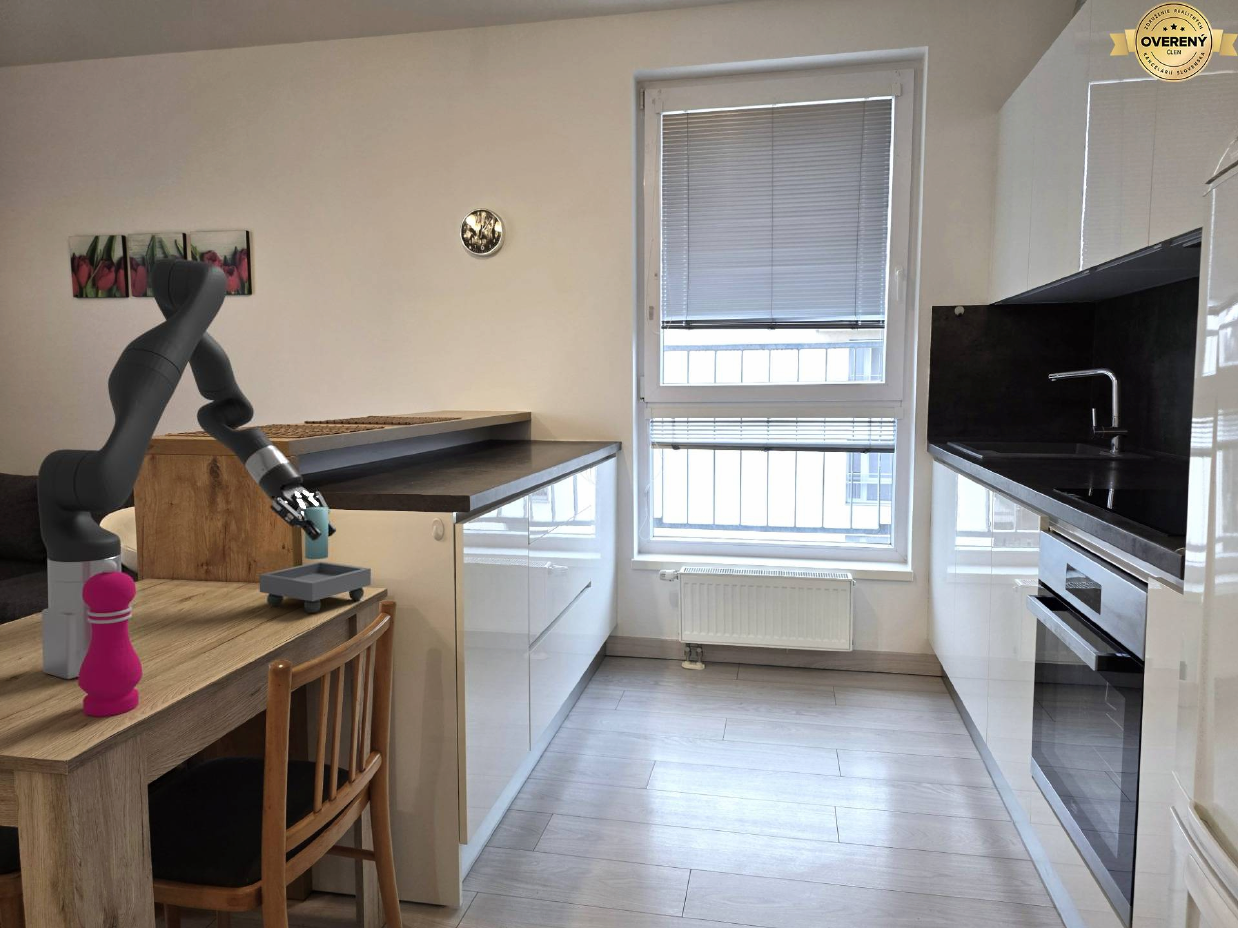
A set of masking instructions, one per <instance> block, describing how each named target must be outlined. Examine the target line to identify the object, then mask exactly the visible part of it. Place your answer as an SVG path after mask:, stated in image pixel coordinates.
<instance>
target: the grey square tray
mask: <svg viewBox="0 0 1238 928" xmlns="http://www.w3.org/2000/svg"><path fill="white" fill-rule="evenodd" d="M371 572H372V568H368V567H363V566H362V567H361V566H354V565H349V564H348V565H347V564H341V563H334V562H328V561H321V560H320V561H315V562H312V563H307V564H303V565H297V566H291V567H289V568H284V569H279V570H275V571H271V572H265V573H262V574H259V593H263V594H267V597H266V602H267V603H268V605H270V606H271V607H278V606H280V605H281V604H282V603H283V600H284V597H285V598H292V599H297V600H303V601H305V602H304V605H303V606H304V607H303V608H304V610H305V611H306V612H307V613H309V614H315V613H317V612H319V610H320V609H321V605H322V604H321V601H320V600H322V599H325V598H329V597H333V596H337V595H340V594H343V593H344V594H345V593H348V596H349V597H350V599H351V600H354V601H358V600H361V599H362V598H363V597H364V594H365V590H364V588H365V587H369V586H371V585H372V584H371V582H372V579H371V575H372V573H371Z"/></svg>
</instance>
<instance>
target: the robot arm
mask: <svg viewBox="0 0 1238 928" xmlns="http://www.w3.org/2000/svg"><path fill="white" fill-rule="evenodd" d="M150 288H151V291H152V296H153V298H154V301H155V303H156V304H157V307H158V309H159V311H160V313H161V314H162V315H163V318H164V319H165V321H163V322H162V323H160V324H159V323H158V325H156V326H153V328H152V327H151V329H149V330H147V331H145V332H144V333H142V334H140V335H139V336H137V337H136V338H135V339H133V340H131V341H130V342H129V343H128V344H127V346H126V347H125V348H124V349H123V351H122V352H121V354H120V355H119V357H118V359H117V361H116V362H115V364H114V367H113V368H112V370H111V371H110V374H109V377H108V381H107V390H108V395H109V400H110V403H111V407H112V410H113V415H114V425H113V428H112V430H111V433H110V435H109V437H108V438H107V440H106V441H105V444H104V445H103V446H102V447H101V448H100V449H99V450H93V449H91V450H90V449H57V450H54V451H52V452H50V453H49V454H47V455H46V456H45V458H44V459H43V460H42V463H40V466H39V470H38V474H37V481H36V485H37V486H36V491H37V505H38V513H39V514H38V515H39V525H40V527H39V528H40V535H41V539H42V542H43V544H44V546H45V548H46V554H47V555H46V556H47V557H46V558H47V560H46V561H47V598H48V600H47V601H48V602H47V603H48V607H47V608H44V609H42V611H41V632H42V633H41V635H42V638H41V640H42V673H44V674H48V675H52V676H55V677H59V678H62V679H66V680H70V679H75V678H79V671H80V668H81V665H82V663H83V660H84V658H85V656H86V654H87V651H88V649H89V647H90V643H91V637H92V627H91V623H90V622H88V621H87V618H88V614H87V611H88V610H89V609H90V607H89V606H88V605H87V604H86V603H85V602H84V600H83V598H82V591H83V586H84V584H85V583H86V581H87V580H88V579H89V578H90V577H92V576H94V575H96V574H98V573H102V572H103V571H102V570H101V565H102V563H103V562H105V561H107V560H112V561H114V562H115V563H116V564H117V569H116V570H115V571H117V572H122V542H121V541H122V540H121V538H120V536H119V535H117V534H116V533H114V532H112V531H110V530H108V529H105V528H104V527H102V526H100V525H99V524H98V523H97V522H96V521H95V520H94V519H93V517H92V515H91V513H109V512H114V511H116V510H119V508H121V507H122V506H123V505H124V504H125V503H126V501H128V498H129V497H130V496H131V494H132V491H133V490H134V488H135V485H136V483H137V480H138V477H139V474H140V471H141V468H142V466H143V462H144V459H145V457H146V453H147V450H148V448H149V445H150V443H151V440H152V438H153V436H154V433H155V431H156V429H157V426H158V424H159V422H160V420H161V418H162V416H163V414H164V412H165V410H166V407H167V405H168V404H169V403H170V400H171V398H172V397H173V396H174V393H175V391H176V389H177V387H178V385H179V383H180V381H181V379H182V376H183V374H184V372H185V369H186V367H187V365H188V363H189V367H190V369H191V373H192V375H193V378H194V381H195V384H196V387H197V390H198V392H199V394H200V395H201V396H202V397H203V398H204V399H206V400H208V401H210V402H207V403H206V404H204V405H202V406H201V407H199V408H198V410H197V413H196V420H197V423H198V425H199V427H201V429H202V430H203V431H204V433H206V434H208V435H209V437H211V438H213V439H214V440H216V441H218V442H219V443H220V444H222V445H224V447H226V448H228V449H229V450H230V451H231V452H232V453H234V455H235V456H236V457H237V459H238V460H239V461H240V462H241V463H242V464H243V466H245V468H246V470H247V472H248V473H249V474H250V475H249V476H251V477H252V479H253V480H254V481H255V483H256V484H257V485H258V487H260V489H261V490H262V492H264V493H265V495H266V496H267V498H269V500H270V501H272V502H273V503H272V504H270V505H269V508H270V509H271V510H272V512H273V513H276V514H277V516H279V517H280V519H282V520H283V521H284V522H286V523H287V525H289V526H290V527H292V528H293V527H295V526H297V527H298V528H301V529H302V530H303V531H304V534H305V533H306V534H307V535H308V536H309V537H310V538H311V539H312V540H313V541H314V540H317V539H318V538H319V537H320V536H321V532H320V531H319V529H318V528H317V527H316V526H315V525H314V523H313V522H312V521H311V520H309V517H308V515H307V513H306V508H309V507H326V508H328V515H330V513H331V510H330V508H329V506H328V505H327V503H326V501H325V499H324V497H323V496H322V494H321V492H320V491H315V492H314V493H310V491H308V490H307V489H306V488H305V487H304V486H303V482H304V479H303V476H302V475H301V474H300V472H298V470H297V469H296V468H295V466H293V464H292V463H291V462H290V461H289V460H288V458H287V457H286V456H285V455H284V453H282V452H281V451H280V450H279V449H278V448H277V447H276V446H275V444H274V443H273V442H272V441H271V440H270V439H269V437H268V436H267V434H266V433H265V432H264V431H263V429H260V428H258V427H250V428H245V429H239V428H240V427H243V426H244V425H246V424H249V423H250V422H251V421H252V419H253V417H254V412H255V409H254V408H253V404H252V403H251V402H250V401H249V399H248V398H247V397H246V396H245V394H244V392H243V391H242V390H241V388H240V387H239V384H238V383H237V380H236V378H235V375H234V371H233V368H232V367H233V366H232V363H231V360H230V357H229V356H228V354H227V353H226V351H225V349H223V347H222V346H221V344H220V343H219V342H217V340H216V339H214V337H213V336H211V334H210V333H208V331H207V330H208V329H209V327H210V325H211V324H212V322H213V321H214V320H215V318H216V316H217V315H218V313H219V312H220V309H221V308H222V306H223V304H224V301H225V298H226V295H227V291H228V290H227V288H228V279H227V276H226V274H225V272H224V270H223V269H222V268H221V267H220V266H218V265H217V264H213V263H210V262H206V261H197V260H189V259H182V258H175V257H165V258H161V259H159V260H157V262H155V264H154V266H153V268H152V269H151V274H150ZM308 520H309V521H308ZM336 532H337V529H336V527H335V526H334V525H333V523H332V522H331V521H330V520H329V519H328V538H329V537H332V536H333V535H334V534H336Z"/></svg>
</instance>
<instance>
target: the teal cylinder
mask: <svg viewBox="0 0 1238 928" xmlns="http://www.w3.org/2000/svg"><path fill="white" fill-rule="evenodd" d="M328 508H329V507H328ZM328 508H326V507H312V506H311V507H309V508H306V513H307V515H308V517H309V520H311V521H312V522H313V523H314V525H315V526H316V527H317V528H318V529H319V531H320V532H321V536H320V537H319V538H318V539H317V540H314V541H313V540H312V539H311V538H310V537H309V536H308V535H307V534H306V533H305V532H304V558H305V559H307V560H323V559H327V558H328V557H329V537H328V520H329V514H328ZM309 520H308V521H309Z"/></svg>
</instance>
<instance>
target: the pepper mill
mask: <svg viewBox="0 0 1238 928" xmlns="http://www.w3.org/2000/svg"><path fill="white" fill-rule="evenodd" d="M116 569H117V564H116V563H115V562H114V561H112V560H107V561H105V562H103V563H102V565H101V570H102V571H103V572H102V573H98V574H96V575H94V576H92V577H90V578H89V579H88V580H87V581H86V583H85V584H84V586H83V591H82V598H83V600H84V602H85V603H86V604H87V605H88V606H89V607H90V609H89V610H88V611H87V614H88V618H87V621H88V622H90V623H91V627H92V637H91V643H90V647H89V649H88V651H87V654H86V656H85V658H84V660H83V663H82V665H81V668H80V671H79V677H77V678H78V679H77V680H78V681H77V683H78V686H79V688H80V689H81V690H82V691H83V692H84V693H86V695H85V696H84V698H83V699H82V707H83V708H82V709H83V710H82V712H83V713H84V715H86V716H89V717H110V716H116V715H119V714H120V715H121V714H124V713H126V712H129V711H132V710H133V709H135V708H136V707H137V706H139V701H140V700H139V698H140V697H139V690H138V689H137V688H135V687H136V686H137V685H138V684H139V683H140V681H141V679H142V678H143V666H142V663H141V659H140V657H139V655H138V653H137V652H136V650H135V649H134V646H133V645H132V642H131V639H130V636H129V619H131V618H132V616H133V613H132V609H133V608H132V606H131V605H130V603H131V602H132V601H133V600H134V598H135V597H136V593H137V587H136V583H135V581H134V579H133V577H131V576H130V575H128V574H127V573H125V572H122V571H121V572H117V571H115V570H116Z"/></svg>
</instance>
